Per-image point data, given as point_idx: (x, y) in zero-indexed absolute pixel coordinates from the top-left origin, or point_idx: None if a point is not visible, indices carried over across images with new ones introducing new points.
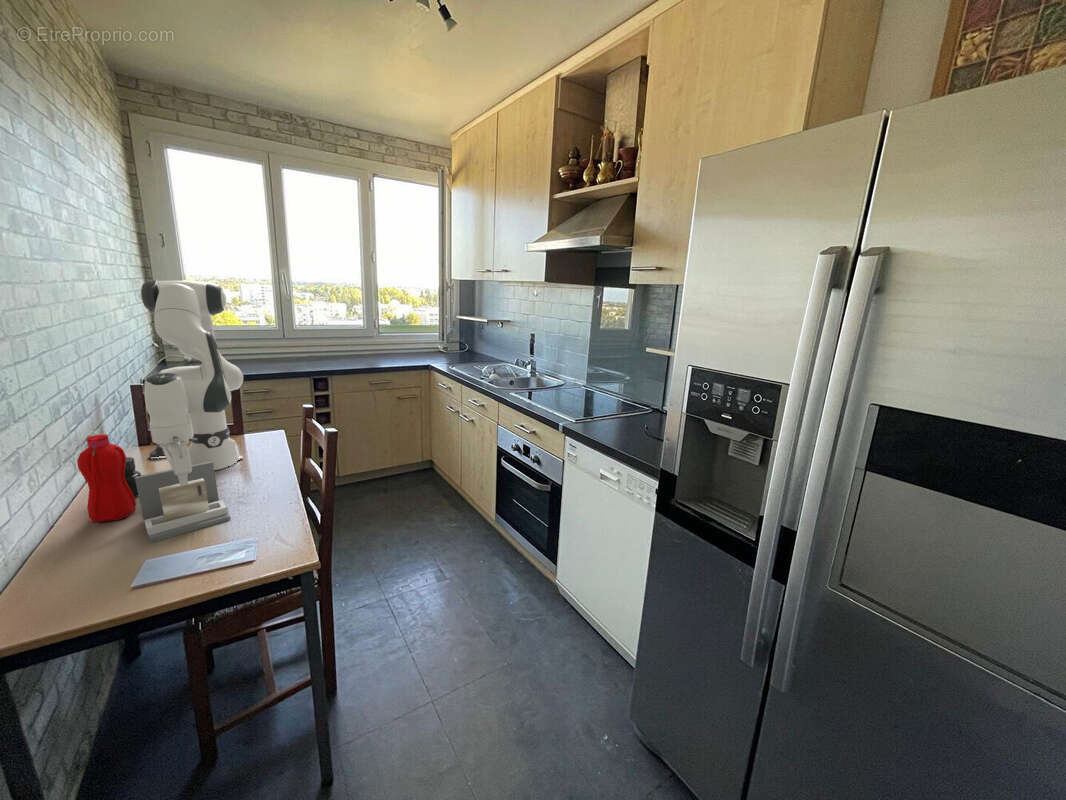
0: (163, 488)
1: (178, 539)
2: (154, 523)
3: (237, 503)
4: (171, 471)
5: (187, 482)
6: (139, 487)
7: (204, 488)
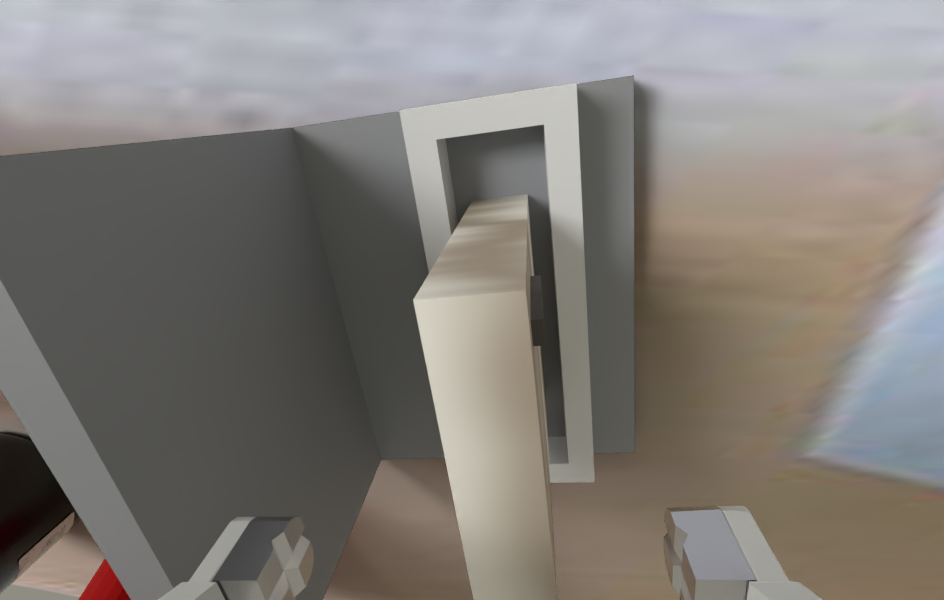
0: (507, 588)
1: (689, 345)
2: None
3: (358, 7)
4: (168, 566)
5: (756, 525)
6: None
7: (527, 268)
